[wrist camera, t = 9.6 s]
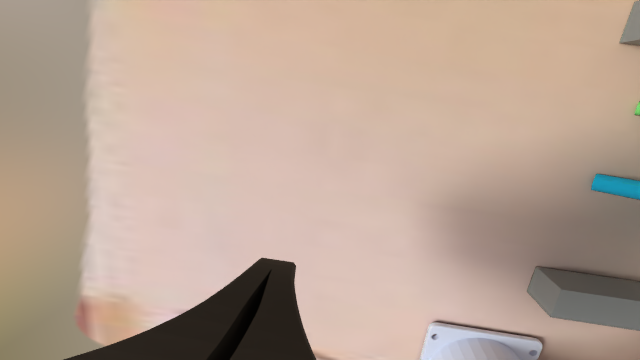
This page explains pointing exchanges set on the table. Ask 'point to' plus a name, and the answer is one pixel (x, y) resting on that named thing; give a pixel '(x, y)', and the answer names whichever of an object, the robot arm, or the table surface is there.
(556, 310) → the gear frame
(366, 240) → the table surface
